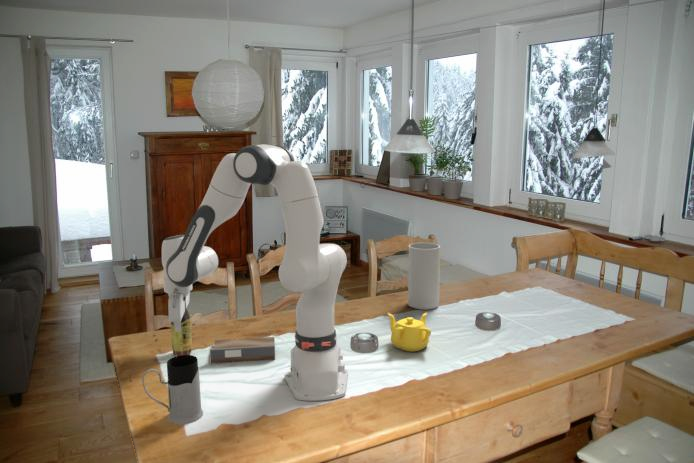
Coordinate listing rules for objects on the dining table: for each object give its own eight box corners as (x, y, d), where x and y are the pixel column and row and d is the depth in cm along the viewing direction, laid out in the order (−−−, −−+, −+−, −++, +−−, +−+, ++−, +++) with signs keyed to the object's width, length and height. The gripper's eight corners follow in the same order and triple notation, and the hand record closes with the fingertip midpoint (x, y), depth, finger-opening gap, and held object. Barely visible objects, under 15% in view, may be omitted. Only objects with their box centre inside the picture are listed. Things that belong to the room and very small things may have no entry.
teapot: (426, 338, 196) (427, 311, 194) (432, 353, 183) (433, 324, 181) (387, 338, 196) (387, 311, 194) (390, 354, 183) (390, 325, 181)
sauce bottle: (186, 357, 181) (182, 298, 178) (168, 356, 183) (164, 297, 179) (196, 350, 188) (192, 292, 184) (178, 348, 189) (174, 291, 185)
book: (275, 359, 179) (274, 355, 179) (210, 363, 177) (210, 359, 176) (274, 340, 195) (274, 336, 195) (215, 344, 192) (215, 340, 192)
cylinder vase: (440, 310, 225) (442, 249, 220) (409, 310, 225) (410, 249, 221) (436, 300, 237) (437, 242, 233) (406, 300, 238) (407, 242, 233)
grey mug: (204, 421, 143) (200, 365, 140) (144, 430, 139) (139, 373, 136) (202, 404, 151) (199, 352, 148) (146, 412, 147) (142, 358, 144)
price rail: (275, 355, 179) (274, 346, 178) (210, 359, 176) (209, 350, 176) (274, 353, 180) (274, 344, 180) (210, 357, 178) (210, 348, 177)
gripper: (183, 293, 171) (186, 337, 174) (192, 276, 191) (194, 315, 194) (161, 294, 170) (165, 338, 173) (173, 276, 190) (175, 316, 193)
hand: (180, 325), depth 183 cm, fingers open, 8 cm apart
